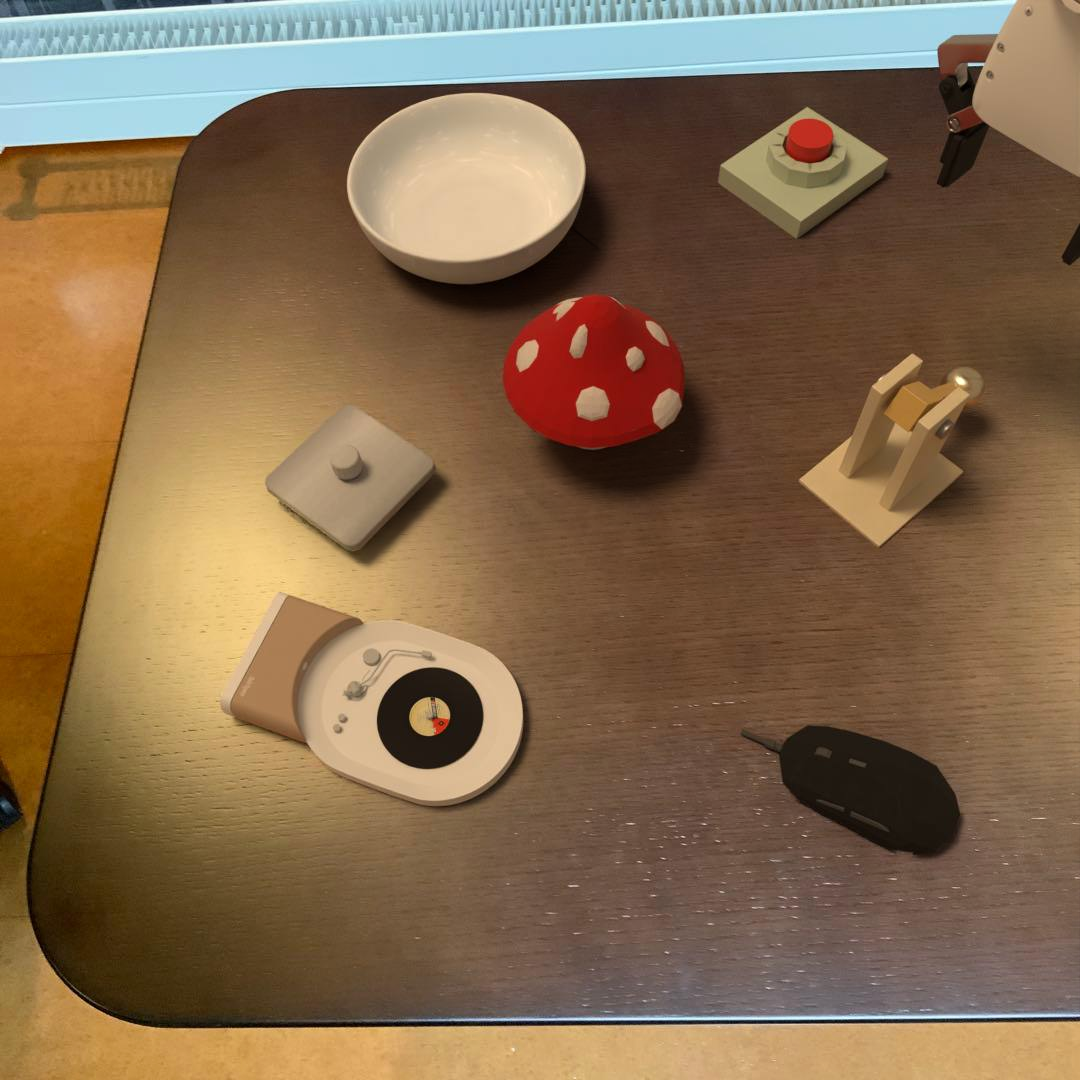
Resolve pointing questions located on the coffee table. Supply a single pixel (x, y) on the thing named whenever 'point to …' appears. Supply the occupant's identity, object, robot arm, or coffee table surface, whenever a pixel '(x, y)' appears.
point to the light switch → (350, 477)
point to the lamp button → (809, 140)
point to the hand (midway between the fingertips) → (1014, 213)
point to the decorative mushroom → (594, 374)
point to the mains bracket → (888, 461)
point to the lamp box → (801, 177)
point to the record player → (380, 701)
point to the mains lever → (933, 396)
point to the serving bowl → (467, 186)
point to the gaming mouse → (869, 787)
